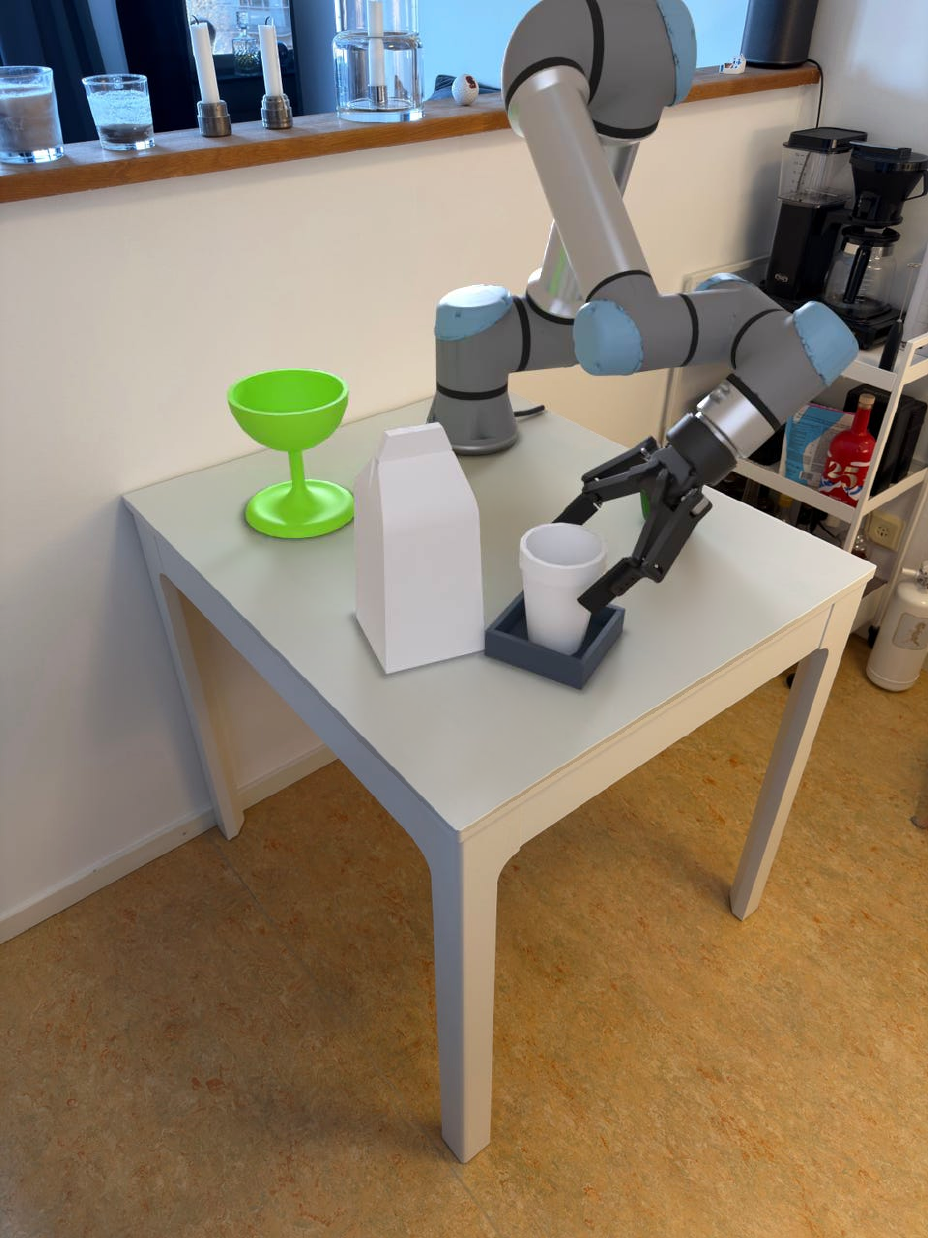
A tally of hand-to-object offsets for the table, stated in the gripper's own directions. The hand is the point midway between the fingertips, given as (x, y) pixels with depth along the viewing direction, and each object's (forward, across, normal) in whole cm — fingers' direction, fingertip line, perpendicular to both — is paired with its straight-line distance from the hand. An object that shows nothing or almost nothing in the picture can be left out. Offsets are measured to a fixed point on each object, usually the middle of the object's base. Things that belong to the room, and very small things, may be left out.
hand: (566, 572), depth 99 cm
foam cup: (+7, 0, +6) cm, 9 cm away
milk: (+18, -5, -4) cm, 19 cm away
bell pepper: (-9, -23, +23) cm, 34 cm away
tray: (+7, 0, +6) cm, 10 cm away
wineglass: (+27, -37, -12) cm, 47 cm away
